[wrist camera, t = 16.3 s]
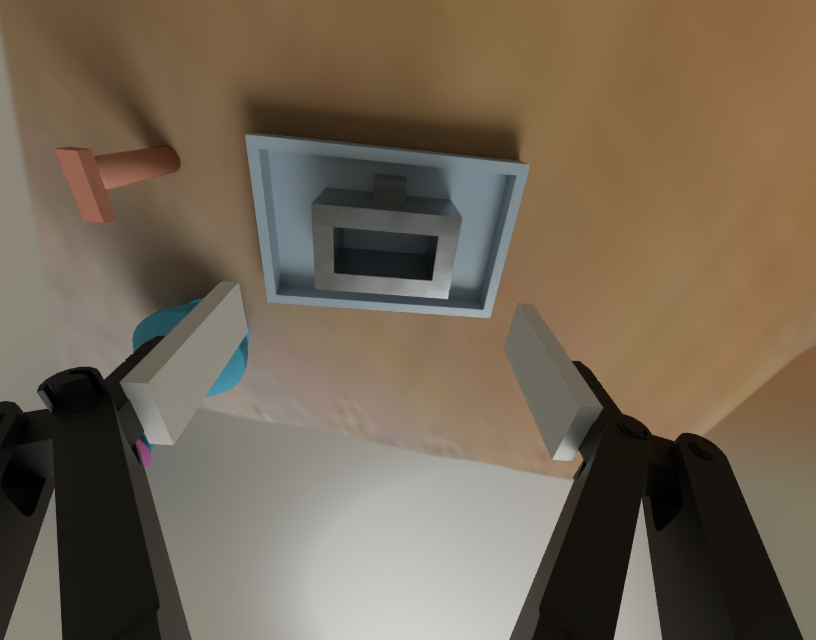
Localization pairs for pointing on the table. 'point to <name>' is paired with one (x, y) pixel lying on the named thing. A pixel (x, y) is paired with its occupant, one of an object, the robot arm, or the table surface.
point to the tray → (354, 170)
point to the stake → (110, 175)
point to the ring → (387, 214)
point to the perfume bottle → (162, 326)
